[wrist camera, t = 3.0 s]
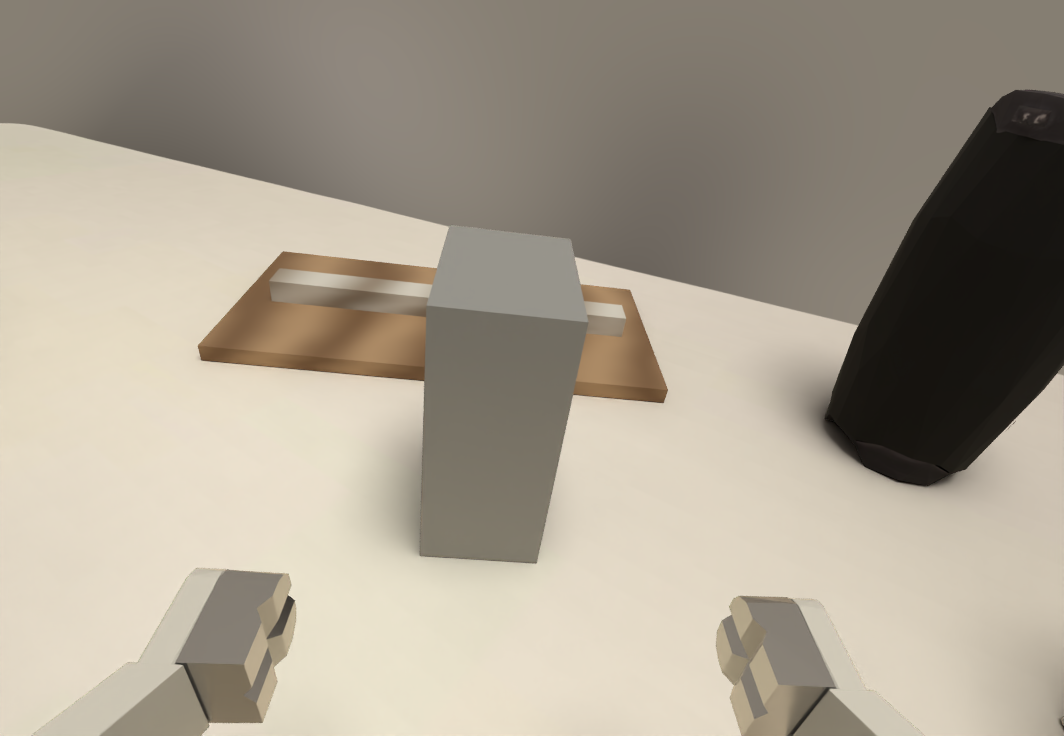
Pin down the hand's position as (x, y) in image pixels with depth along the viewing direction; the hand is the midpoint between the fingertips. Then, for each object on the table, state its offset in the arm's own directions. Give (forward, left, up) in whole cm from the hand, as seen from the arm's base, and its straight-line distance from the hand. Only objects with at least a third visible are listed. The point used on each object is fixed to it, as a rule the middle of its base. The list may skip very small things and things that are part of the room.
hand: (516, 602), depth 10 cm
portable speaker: (+25, +20, -11) cm, 33 cm away
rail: (-3, +28, -11) cm, 31 cm away
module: (0, +13, -11) cm, 17 cm away
